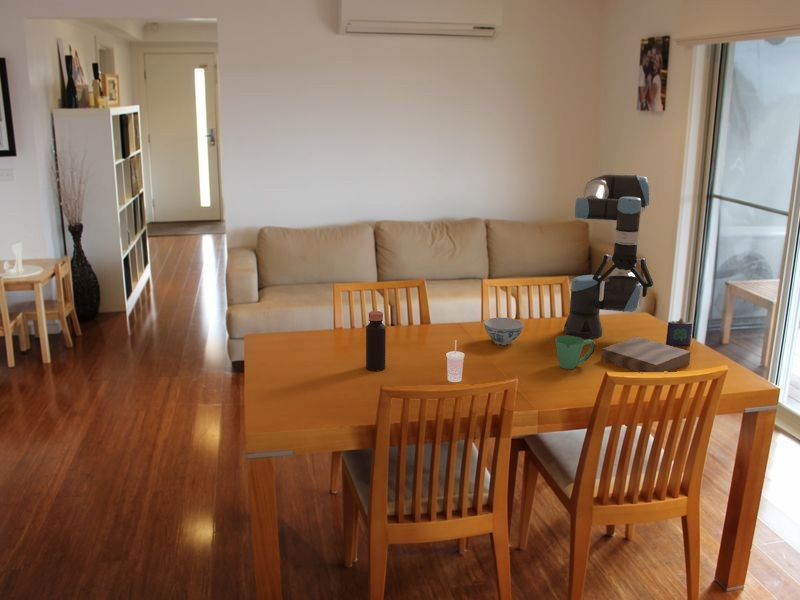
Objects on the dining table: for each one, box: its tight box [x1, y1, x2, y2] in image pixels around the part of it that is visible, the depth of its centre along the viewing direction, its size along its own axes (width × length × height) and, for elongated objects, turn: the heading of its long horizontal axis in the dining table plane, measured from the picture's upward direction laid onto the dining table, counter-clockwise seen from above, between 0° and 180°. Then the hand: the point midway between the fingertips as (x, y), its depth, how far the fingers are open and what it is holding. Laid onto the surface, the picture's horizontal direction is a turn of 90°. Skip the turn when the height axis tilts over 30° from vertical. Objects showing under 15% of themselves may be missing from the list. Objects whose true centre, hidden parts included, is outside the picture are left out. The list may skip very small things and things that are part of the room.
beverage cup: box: [445, 339, 466, 383], centre depth 254 cm, size 6×6×14 cm
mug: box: [554, 335, 596, 370], centre depth 268 cm, size 15×10×10 cm
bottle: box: [365, 310, 387, 372], centre depth 263 cm, size 7×7×20 cm
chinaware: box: [483, 317, 524, 346], centre depth 293 cm, size 15×15×8 cm
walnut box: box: [600, 336, 692, 373], centre depth 274 cm, size 22×22×5 cm
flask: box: [665, 317, 693, 347], centre depth 292 cm, size 9×3×11 cm, turn 87°
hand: (620, 302), depth 266 cm, fingers open, 13 cm apart
